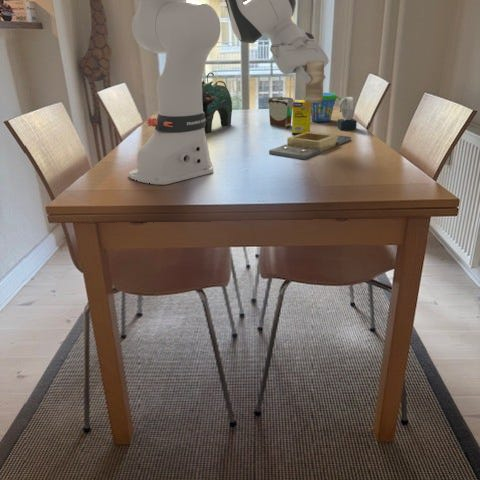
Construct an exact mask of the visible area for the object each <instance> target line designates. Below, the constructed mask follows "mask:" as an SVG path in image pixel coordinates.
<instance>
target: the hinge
mask: <svg viewBox="0 0 480 480" xmlns="http://www.w3.org/2000/svg"><path fill="white" fill-rule="evenodd" d="M351 141H352V136H348V135H338V134H329V133H322V132H311V131H310V132H304V133H301V134H298V135H291V136H290V137H287V141H286V142H287V143H286V144H284V145H281V146H277V147H275V148H272V149H269V150H268V154H269V155H274V156H280V157H281V156H282V157H286V158H287V157H288V158H292V159H293V158H294V159H298V160H307V159H309V158H311V157H315V156H316V155H319V154H321V153H322V152H323V151H326V150H329V149H331V148H333V147H336V146H341V145H344V144H345V143H347V142H351Z"/></svg>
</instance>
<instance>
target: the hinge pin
mask: <svg viewBox="0 0 480 480" xmlns="http://www.w3.org/2000/svg"><path fill="white" fill-rule="evenodd" d="M306 73H308V75H309V74H310V75H311V77H312V78H313V80H312V81H311V83H306V82H305V97H304V98H305V102H308V103H319V102H322V100H323V93H324V81H325V79H324V75H325V67H324V61H310V62H307V66H306Z"/></svg>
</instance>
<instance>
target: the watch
mask: <svg viewBox="0 0 480 480" xmlns="http://www.w3.org/2000/svg"><path fill="white" fill-rule="evenodd" d="M338 106H339V108H340V109H341V116H342V118H338V119H337V129H338V130H340V131H356V130H357V124H358V123H357V122H358V120H356V119H355V118H354V115H355V99H354V97H353V96H345V97H343V98H341V101H340V100H339V102H338Z"/></svg>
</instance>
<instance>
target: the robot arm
mask: <svg viewBox="0 0 480 480" xmlns="http://www.w3.org/2000/svg"><path fill="white" fill-rule="evenodd" d="M224 2H225V4H226V8H227V12H228V18H229V21H230V25H231V29H232V32H233V34H234V35H235V37H236V38H237V40H238V41H240V42H241V43H245V44H255V42H257V41H258V40H259V39H260V38H262V37H263V36H265V37H267V38H268V39H269V40H270V43H271V45H270V47H269V48H270V49H269V50H270V52H271V54H272V59H273V61H274V62H275V65H276V66H277V68H278V69H279V71H280V72H281V73H282V74H283V75H290V74H291V75H292V74H296V75H297V76H298V77H299V78H300V79H302V80H303V81H304V82H305V84H306V83H311V81H312V80H313V78H312V77H311V75H310V74H309V75H308V73H306V66H307V62H310V61H324V68H326V66H327V65H328V64H329V61H330V60H329V57H328V55H327V54H326V52H325V51H324V49H323V48H322V46H321V45H320V44H319V43H318V42H317V41H316V40H317V37H316V36H315V35H314V34H312V33H309V32H307V31H305V30H303V29H302V28H299V26H298V25H297V24H296V23H295V22H294V21H293V20H292V17H293V16H294V13H295V8H296V3H297V2H296V0H246V1H244V0H224ZM131 22H132V23H131V31H132V36H133V38H134V40H135V42H136V43H137V45H139V46H140V47H141V48H142V49H145V50H147V51H150V52H152V53H155V54H160V55H161V54H165V55H166V56H165V63H164V66H163V70H162V73H161V75H159V77H158V78H157V80H156V95H157V104H158V105H157V106H158V114H157V117H156V118H154V117H153V118H152V117H148V118H147V120H146V122H145V123H146V125H147V126H149V127H153V128H154V129H155V130H154V132H153V133H152V134H151V136H150V137H149V138H148V140H147V141H146V142H145V143H144V144H143V145H142V147H140V149H139V150H138V152H137V158H136V166H137V167H136V169H133V170H131V171H129V172H128V177H129V179H131V180H133V179H134V180H133V181H136V180H137V181H136V182H140V183H144V184H149V183H150V184H149V185H169V184H174V183H178V182H181V181H185V180H189V179H193V178H197V177H200V176H206V175H209V174H212V173H214V167H213V164H212V161H211V156H210V151H209V145H208V139H207V136H206V133H205V130H204V127H205V126H206V124H205V121H206V119H205V113H204V112H203V103H202V81H203V76H204V70H205V66H206V62H207V60H208V57H209V55H210V53H211V51H212V50H213V49H214V47H215V46H216V45H217V43H218V42H219V40H220V36H221V21H220V18H219V15H218V13H217V12H216V10H215V8H213V7H212V6H211V5H210V4H207V3H205V2H200V1H195V0H183V1H182V0H139V1H138V7H137V10H136V13H135V14H134V16H133V19H132V21H131ZM325 79H326V75H325V74H324V80H325Z"/></svg>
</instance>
